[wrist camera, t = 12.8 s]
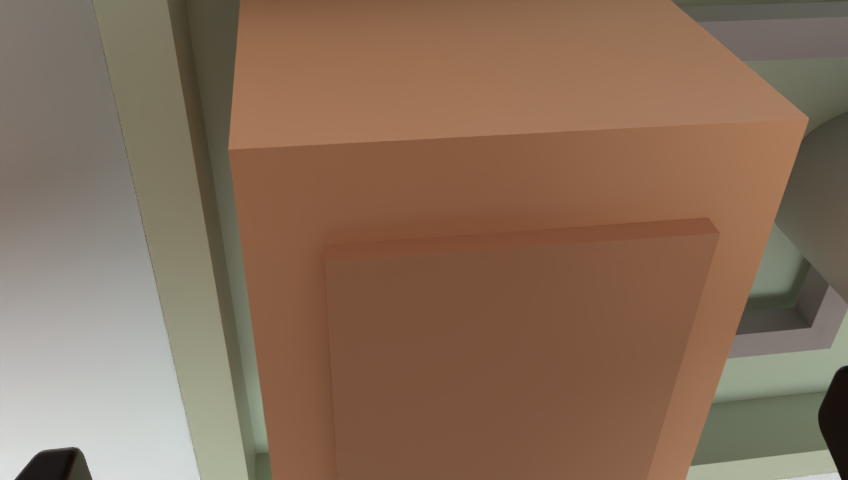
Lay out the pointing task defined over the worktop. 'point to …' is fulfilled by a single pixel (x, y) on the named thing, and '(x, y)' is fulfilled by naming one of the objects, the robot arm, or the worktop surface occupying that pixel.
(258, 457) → the tray
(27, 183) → the worktop surface
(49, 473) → the robot arm
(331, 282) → the raised panel orange block
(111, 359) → the worktop surface
